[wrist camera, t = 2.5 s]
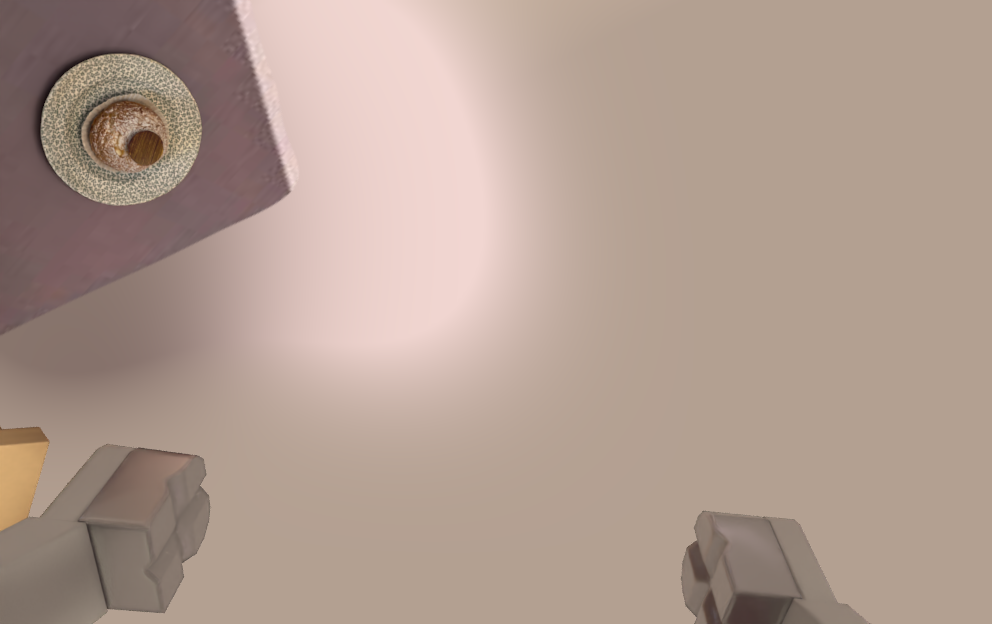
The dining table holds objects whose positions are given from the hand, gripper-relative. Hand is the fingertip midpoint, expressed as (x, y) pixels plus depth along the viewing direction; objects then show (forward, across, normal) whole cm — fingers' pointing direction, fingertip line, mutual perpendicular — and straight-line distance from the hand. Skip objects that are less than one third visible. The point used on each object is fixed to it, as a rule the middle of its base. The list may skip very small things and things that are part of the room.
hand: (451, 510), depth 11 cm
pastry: (+45, +30, +8) cm, 55 cm away
